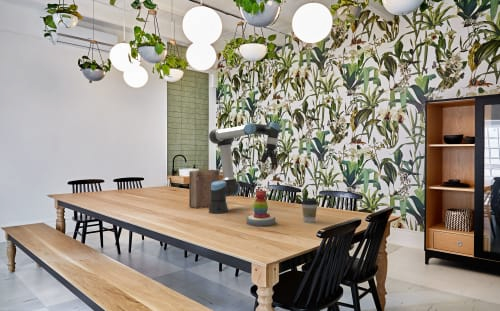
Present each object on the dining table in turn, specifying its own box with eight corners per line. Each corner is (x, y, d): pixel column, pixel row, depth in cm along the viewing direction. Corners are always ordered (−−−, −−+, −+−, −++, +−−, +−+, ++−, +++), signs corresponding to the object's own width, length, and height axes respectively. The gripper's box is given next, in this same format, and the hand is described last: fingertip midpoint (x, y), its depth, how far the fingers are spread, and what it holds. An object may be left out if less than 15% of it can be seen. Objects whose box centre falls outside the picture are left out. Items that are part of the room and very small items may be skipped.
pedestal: (241, 224, 228) (241, 217, 228) (256, 218, 244) (256, 213, 244) (266, 227, 217) (266, 221, 217) (280, 222, 233) (280, 216, 233)
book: (196, 208, 283) (196, 171, 282) (189, 207, 289) (189, 171, 289) (219, 204, 302) (219, 170, 301) (211, 203, 308) (211, 169, 308)
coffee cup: (307, 224, 228) (307, 201, 227) (297, 220, 238) (297, 199, 237) (321, 222, 233) (321, 200, 233) (311, 219, 243) (311, 197, 243)
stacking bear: (270, 216, 233) (270, 189, 233) (266, 219, 224) (266, 191, 223) (255, 215, 237) (255, 189, 237) (250, 217, 228) (250, 190, 227)
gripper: (284, 145, 244) (279, 175, 244) (267, 143, 266) (262, 171, 266) (275, 143, 241) (270, 174, 241) (259, 142, 263) (254, 169, 263)
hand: (266, 172), depth 253 cm, fingers open, 13 cm apart
